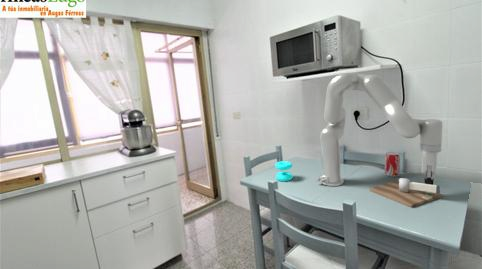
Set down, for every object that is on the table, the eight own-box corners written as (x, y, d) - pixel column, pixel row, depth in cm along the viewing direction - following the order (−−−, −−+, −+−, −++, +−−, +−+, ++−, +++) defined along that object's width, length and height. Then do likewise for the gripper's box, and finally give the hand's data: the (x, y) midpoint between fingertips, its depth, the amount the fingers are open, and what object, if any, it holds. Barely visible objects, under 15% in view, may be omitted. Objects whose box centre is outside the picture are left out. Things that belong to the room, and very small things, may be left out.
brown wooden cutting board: (411, 207, 101) (411, 204, 101) (369, 190, 121) (369, 187, 121) (444, 196, 108) (444, 193, 108) (398, 182, 128) (399, 179, 128)
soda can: (381, 174, 141) (382, 152, 139) (393, 172, 142) (394, 151, 139) (390, 178, 134) (390, 155, 132) (402, 176, 135) (403, 154, 132)
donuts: (272, 162, 149) (287, 159, 152) (273, 177, 150) (287, 175, 153) (279, 166, 139) (295, 163, 142) (280, 183, 141) (295, 179, 144)
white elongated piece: (398, 191, 114) (398, 180, 113) (399, 188, 117) (399, 177, 116) (439, 197, 105) (440, 185, 104) (439, 194, 108) (440, 182, 107)
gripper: (420, 143, 115) (419, 180, 118) (418, 150, 104) (417, 191, 107) (441, 144, 110) (439, 182, 113) (441, 152, 99) (439, 194, 102)
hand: (428, 186), depth 110 cm, fingers closed
